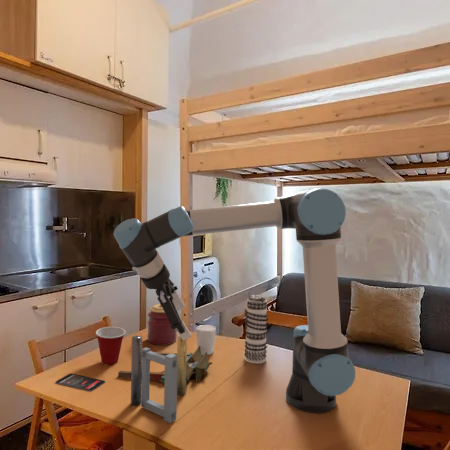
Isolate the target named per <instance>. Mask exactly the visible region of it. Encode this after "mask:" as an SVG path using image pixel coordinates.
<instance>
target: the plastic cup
mask: <svg viewBox="0 0 450 450" xmlns="http://www.w3.org/2000/svg"><path fill="white" fill-rule="evenodd" d="M95 335H96V338H97V342H98V348H99V354H100V359H101V360H100V361H101V363H102V365H105V366H113V365H116V364H118V361H119V357H120V353H121V349H122V343H123V339H124V336H125V335H126V330H125V329H124V328H122V327H118V326H104V327H100V328H99V329H97V330H96V331H95Z"/></svg>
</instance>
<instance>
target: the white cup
mask: <svg viewBox="0 0 450 450" xmlns="http://www.w3.org/2000/svg"><path fill="white" fill-rule="evenodd" d="M216 329H217V327H216V326H214V325H210V324H202V325H201V324H200V325H198V326H196V350H197V349H198V347H199V346H201V347H200V348H201V354H202V355H205V353H207V356H209V355H211V354H212V355H213V354H214V352H215V343H216Z"/></svg>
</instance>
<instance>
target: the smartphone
mask: <svg viewBox="0 0 450 450" xmlns="http://www.w3.org/2000/svg"><path fill="white" fill-rule="evenodd" d="M105 383H106V381H105V380H103V379H97V378H94V377H89V376H86V375H81V374H76V373H68V374H67V375H64V376H63V377H61V378H59V379H57V380H56V381H55V384H57V385H61V386H65V387H68V388H72V389H73V388H74V389H78V390H82V391H86V392H89V393H90V392H93V391H95V390H96V389H98V388H99V387H101V386H103V385H105Z"/></svg>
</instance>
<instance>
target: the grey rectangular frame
mask: <svg viewBox="0 0 450 450" xmlns="http://www.w3.org/2000/svg"><path fill="white" fill-rule="evenodd" d="M158 353H159V352H155V351H152V350H151V348H149V347H147V346H146V347H144V348H142V384H141V404H140V406H141V408H143V409H146V410H148V411H150V412H152V413H154V414H156V415H158V416H160V417H162V418H163V421H165V422H167V423H168V424H171V423H173V422H175V421H176V420H177V406H178V405H177V403H178V402H177V397H178V395H177V357H178V355H175V354H172V353H173V352H170V353H171V354H168V355H166V356H164V355H161V354H158ZM151 362H155V363H157V364H160V365H163V366H164V371H165V382H164V388H163V389H164V390H163V391H164V395H163V396H164V398H163V399H164V400H163V402H164V403H163V404H162V403H158V402H156V401H154V400H152V399H150V391H151V390H150V385H151V384H150V382H151V380H150V372H151Z"/></svg>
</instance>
